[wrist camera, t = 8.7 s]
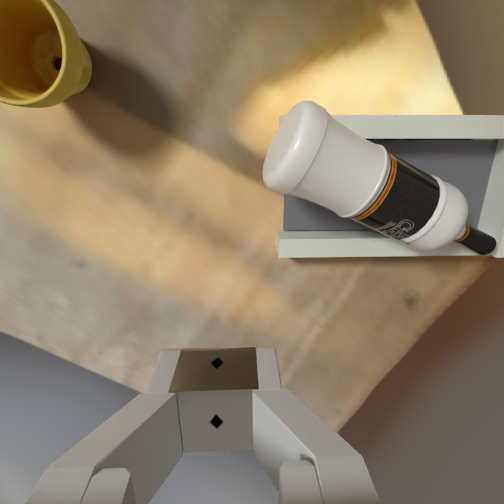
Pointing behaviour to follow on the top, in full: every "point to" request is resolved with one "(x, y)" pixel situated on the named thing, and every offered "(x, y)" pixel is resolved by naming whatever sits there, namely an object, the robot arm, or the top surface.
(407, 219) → the vodka
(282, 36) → the top surface
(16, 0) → the plant pot
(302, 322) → the top surface
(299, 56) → the top surface
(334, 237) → the cradle
